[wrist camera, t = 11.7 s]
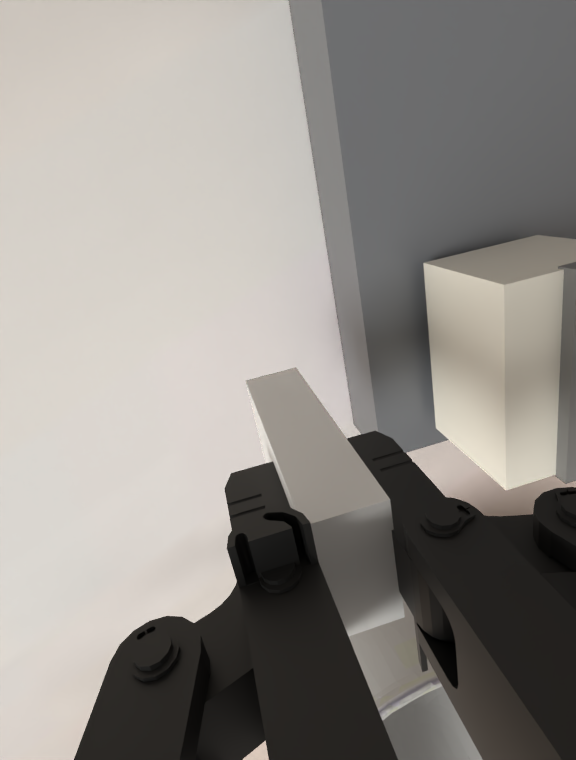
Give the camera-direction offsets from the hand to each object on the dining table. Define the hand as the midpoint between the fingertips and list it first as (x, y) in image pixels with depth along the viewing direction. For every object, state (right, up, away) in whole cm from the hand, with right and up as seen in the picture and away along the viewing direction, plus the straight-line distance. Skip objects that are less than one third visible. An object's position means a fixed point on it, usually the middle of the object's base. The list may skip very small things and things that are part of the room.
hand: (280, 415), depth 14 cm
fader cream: (+7, +2, +2) cm, 8 cm away
